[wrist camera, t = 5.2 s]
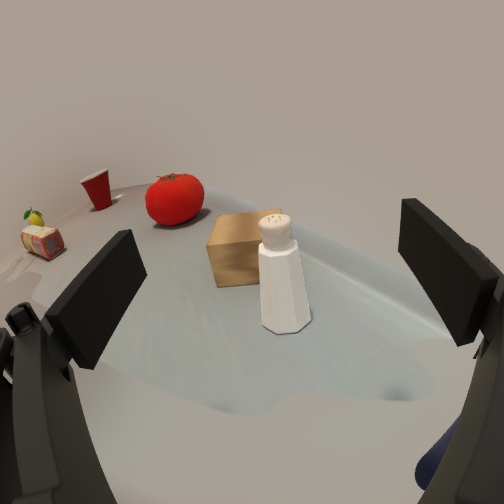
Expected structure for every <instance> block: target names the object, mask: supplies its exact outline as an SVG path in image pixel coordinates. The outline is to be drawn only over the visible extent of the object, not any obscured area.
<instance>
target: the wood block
mask: <svg viewBox="0 0 504 504" xmlns="http://www.w3.org/2000/svg"><path fill="white" fill-rule="evenodd" d="M272 214H282V210H281V209H272V210H264V211H255V212H247V213H239V214H231V215H223V216H219V217H218V219H217V221H216V223H215V226H214V228H213V230H212V233H211V235H210V238H209V240H208V242H207V245H206V248H207V251H208V255H209V259H210V263H211V267H212V271H213V274H214V278H215V282H216V285H217V287H224V286H236V285H248V284H259V283H260V278H259V253H258V252H259V244H261V243H262V240H263V239H262V238H261V230H260V228H259V225H258V223H259V221H260V220H261V219H262V218H264V217H266V216H268V215H272Z"/></svg>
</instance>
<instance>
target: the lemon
mask: <svg viewBox="0 0 504 504" xmlns="http://www.w3.org/2000/svg"><path fill="white" fill-rule="evenodd" d="M30 208H31V207H30ZM31 210H32V209H31ZM34 212H35V213H33V212H32V214H31V216H30V218H29V226H30V225H37V226H41V227H44V221H43V219H42V217H41V216H40V215H41V213H40V212H38V211H34ZM30 213H31V211H30V210H29V211H27V212H25V214H24V219H27V218H28V217H29V215H30ZM39 214H40V215H39Z"/></svg>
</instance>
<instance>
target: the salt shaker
mask: <svg viewBox="0 0 504 504" xmlns="http://www.w3.org/2000/svg"><path fill="white" fill-rule="evenodd" d="M258 225H259V228H260V230H261V238H262V239H263V240H262V243H261V244H259V252H258V253H259V278H260V297H261V317H262V325H263V326H264V327H266V328H268V329H269V330H271V331H273V332H274V333H276V334H285V333H295V332H298V331H299V330H301V329H302V328H303V327H304V326H305V325H306V324H307V323H309V322H310V321H311V316H310V310H309V304H308V298H307V292H306V286H305V281H304V275H303V270H302V265H301V259H300V254H299V249H298V244H297V241H296V240H294V239H292V237H291V235H292V229H291V218H290V217H288V216H287V215H283V214H272V215H268V216H266V217H264V218H262V219H261V220H260V221H259V223H258Z"/></svg>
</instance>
